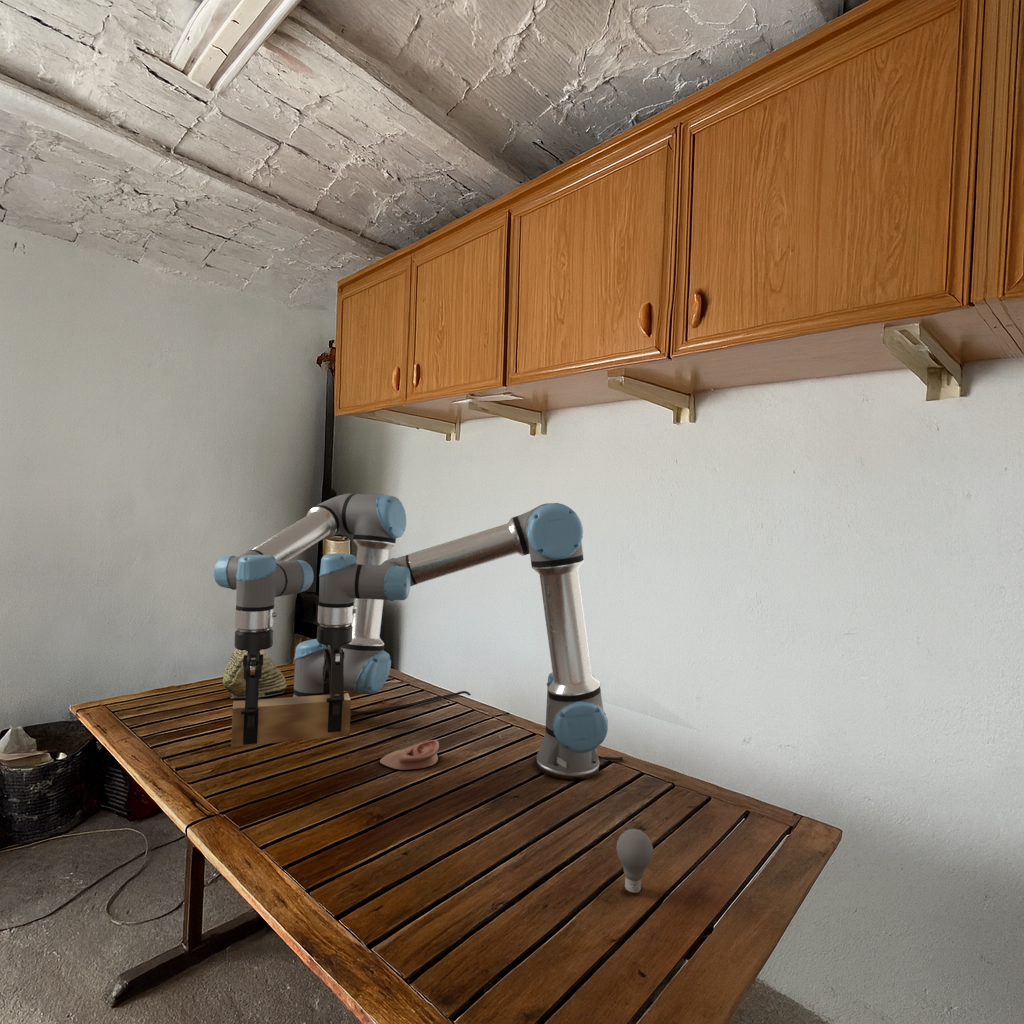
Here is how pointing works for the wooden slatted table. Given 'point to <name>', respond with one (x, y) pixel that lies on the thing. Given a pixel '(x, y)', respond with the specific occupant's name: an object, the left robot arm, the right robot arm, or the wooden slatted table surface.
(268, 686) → the fossil
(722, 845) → the wooden slatted table surface
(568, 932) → the wooden slatted table surface
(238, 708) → the bar
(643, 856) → the light bulb
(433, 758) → the anatomical model
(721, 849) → the wooden slatted table surface
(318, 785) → the wooden slatted table surface
